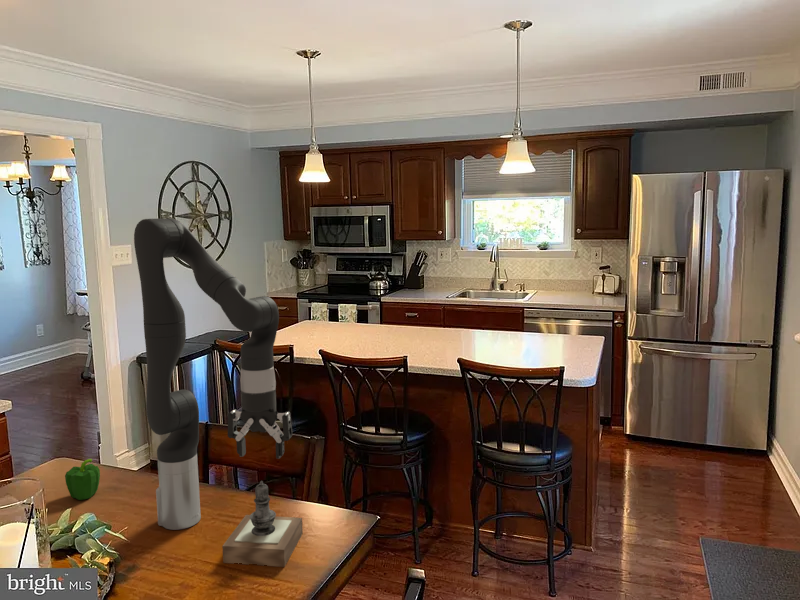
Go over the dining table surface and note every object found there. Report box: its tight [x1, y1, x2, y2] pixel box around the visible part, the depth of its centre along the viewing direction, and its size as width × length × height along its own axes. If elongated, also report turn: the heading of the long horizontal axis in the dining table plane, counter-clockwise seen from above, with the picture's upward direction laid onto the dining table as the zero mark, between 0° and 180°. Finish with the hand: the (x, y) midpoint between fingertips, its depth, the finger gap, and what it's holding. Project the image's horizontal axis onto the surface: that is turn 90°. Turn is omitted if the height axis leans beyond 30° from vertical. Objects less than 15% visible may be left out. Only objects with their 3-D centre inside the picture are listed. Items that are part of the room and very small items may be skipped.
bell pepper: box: [64, 458, 101, 501], centre depth 166 cm, size 8×8×10 cm
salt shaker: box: [249, 480, 277, 536], centre depth 139 cm, size 6×6×12 cm
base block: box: [222, 514, 304, 568], centre depth 140 cm, size 14×14×4 cm
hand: (260, 456), depth 137 cm, fingers open, 8 cm apart
